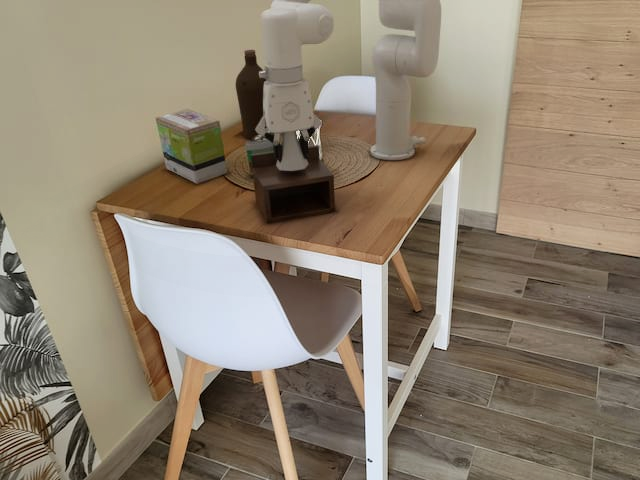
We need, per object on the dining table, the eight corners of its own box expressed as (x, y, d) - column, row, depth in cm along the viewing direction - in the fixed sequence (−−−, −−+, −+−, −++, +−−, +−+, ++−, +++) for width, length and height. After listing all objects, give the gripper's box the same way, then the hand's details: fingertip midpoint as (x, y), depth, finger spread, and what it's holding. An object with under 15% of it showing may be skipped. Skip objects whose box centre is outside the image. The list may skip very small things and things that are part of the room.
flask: (276, 161, 131) (272, 117, 125) (308, 159, 131) (305, 116, 126) (275, 173, 124) (270, 128, 119) (308, 171, 125) (305, 126, 120)
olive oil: (276, 139, 174) (268, 53, 161) (241, 141, 173) (230, 55, 160) (275, 128, 183) (267, 46, 170) (242, 130, 182) (231, 48, 169)
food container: (271, 181, 147) (267, 143, 141) (249, 179, 148) (244, 142, 143) (286, 163, 157) (283, 128, 152) (265, 162, 158) (261, 127, 153)
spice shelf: (320, 191, 141) (317, 144, 134) (335, 211, 131) (333, 162, 125) (256, 202, 136) (250, 154, 130) (266, 223, 126) (261, 172, 120)
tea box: (165, 170, 154) (153, 116, 146) (197, 160, 160) (187, 107, 153) (196, 185, 145) (186, 128, 138) (228, 173, 152) (220, 118, 144)
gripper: (247, 83, 112) (257, 170, 121) (329, 74, 117) (333, 159, 126) (240, 74, 118) (250, 158, 127) (318, 66, 123) (323, 148, 132)
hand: (291, 158), depth 127 cm, fingers closed on flask, 4 cm apart
